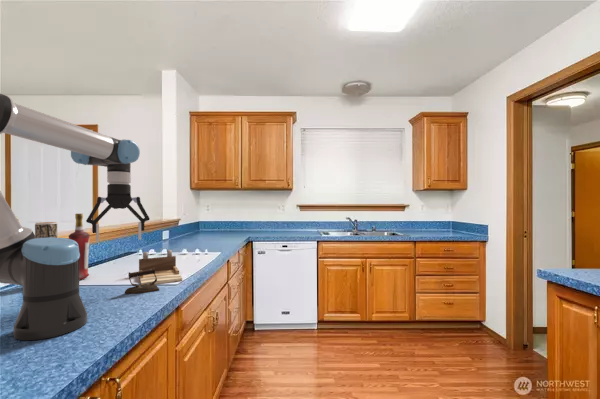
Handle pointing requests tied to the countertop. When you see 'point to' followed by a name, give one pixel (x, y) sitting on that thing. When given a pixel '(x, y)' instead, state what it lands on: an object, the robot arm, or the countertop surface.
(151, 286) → the clothes iron
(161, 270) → the cradle
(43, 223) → the paper tube
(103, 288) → the countertop surface
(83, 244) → the liquor
